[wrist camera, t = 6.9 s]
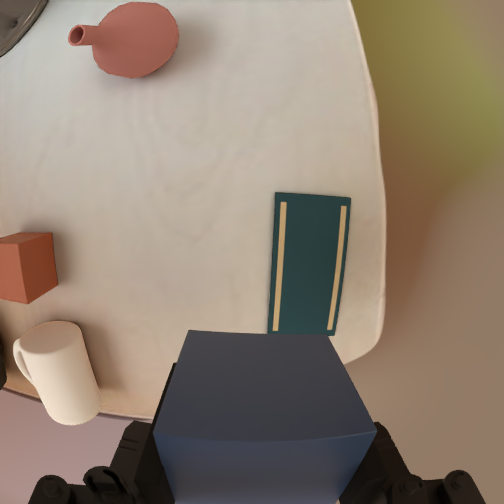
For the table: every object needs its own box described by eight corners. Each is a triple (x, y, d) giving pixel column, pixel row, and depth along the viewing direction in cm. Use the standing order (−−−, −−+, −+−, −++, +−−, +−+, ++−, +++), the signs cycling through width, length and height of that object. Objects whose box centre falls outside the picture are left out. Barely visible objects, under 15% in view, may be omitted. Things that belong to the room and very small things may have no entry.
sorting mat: (275, 192, 25) (276, 192, 24) (348, 197, 25) (351, 197, 25) (267, 334, 28) (267, 337, 28) (332, 333, 28) (334, 336, 28)
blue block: (188, 329, 12) (152, 432, 6) (326, 333, 12) (378, 430, 6) (194, 423, 13) (179, 515, 7) (306, 425, 13) (328, 514, 7)
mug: (92, 323, 28) (57, 360, 20) (111, 391, 30) (88, 432, 22) (23, 313, 27) (-14, 340, 19) (43, 375, 29) (16, 407, 22)
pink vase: (121, 81, 23) (41, 98, 14) (121, 18, 19) (40, 8, 9) (190, 71, 23) (126, 74, 13) (190, 3, 18) (128, -31, 8)
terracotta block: (18, 232, 25) (-15, 242, 19) (52, 232, 25) (17, 243, 19) (24, 281, 26) (-6, 297, 20) (58, 285, 26) (27, 304, 21)
